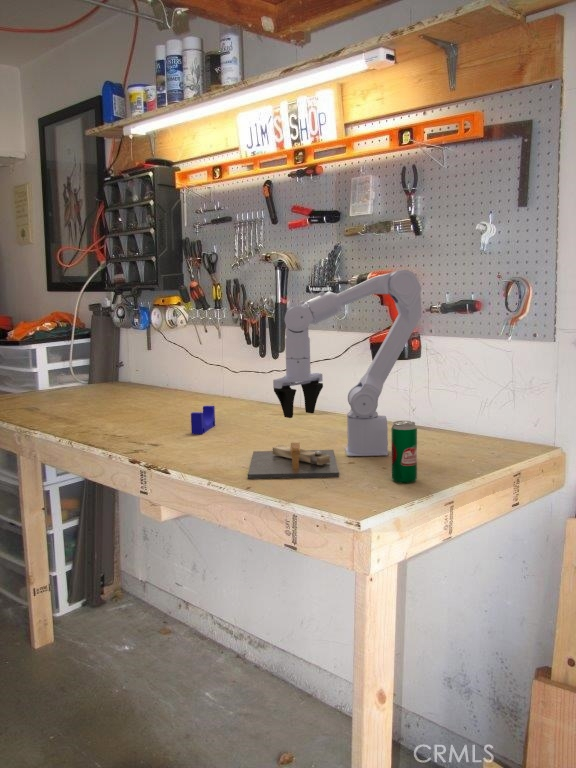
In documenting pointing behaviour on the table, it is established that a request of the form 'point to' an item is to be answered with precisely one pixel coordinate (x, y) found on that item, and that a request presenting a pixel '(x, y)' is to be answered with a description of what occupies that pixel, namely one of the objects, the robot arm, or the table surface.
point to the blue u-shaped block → (203, 420)
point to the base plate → (290, 465)
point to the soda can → (404, 451)
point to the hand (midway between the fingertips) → (299, 415)
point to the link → (302, 455)
